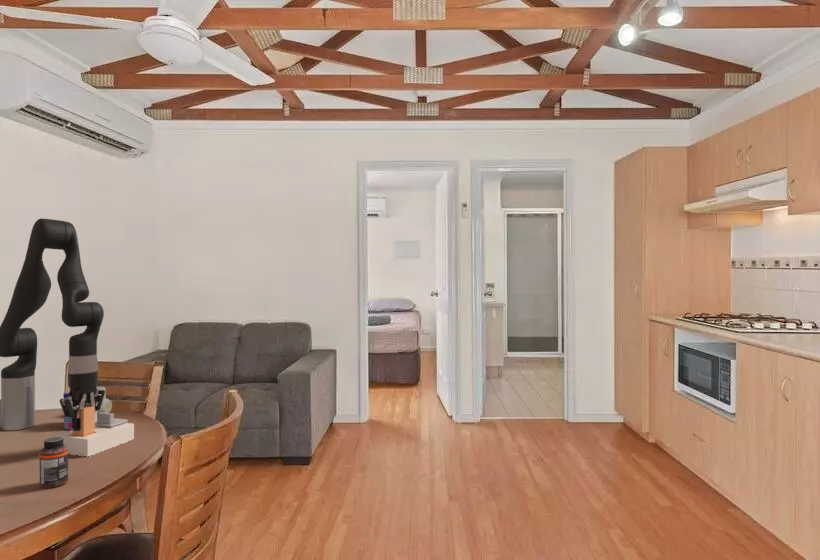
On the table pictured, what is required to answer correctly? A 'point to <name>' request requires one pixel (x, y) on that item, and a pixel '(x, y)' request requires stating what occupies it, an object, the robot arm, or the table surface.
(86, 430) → the plug
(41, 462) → the supplement bottle
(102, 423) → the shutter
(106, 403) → the air freshener
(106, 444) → the socket
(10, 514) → the table surface
